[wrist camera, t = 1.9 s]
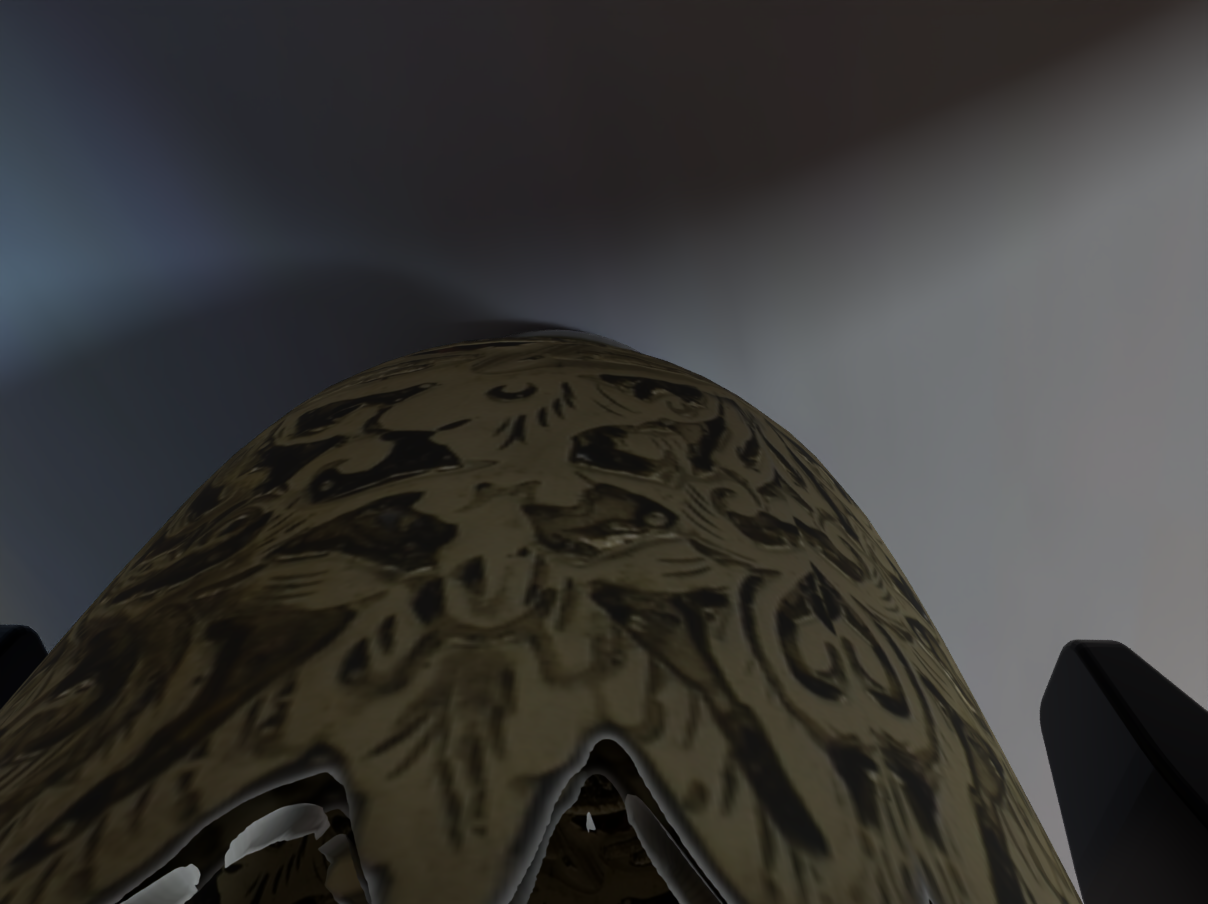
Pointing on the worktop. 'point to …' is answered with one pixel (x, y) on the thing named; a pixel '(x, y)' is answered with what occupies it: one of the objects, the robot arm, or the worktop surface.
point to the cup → (513, 669)
